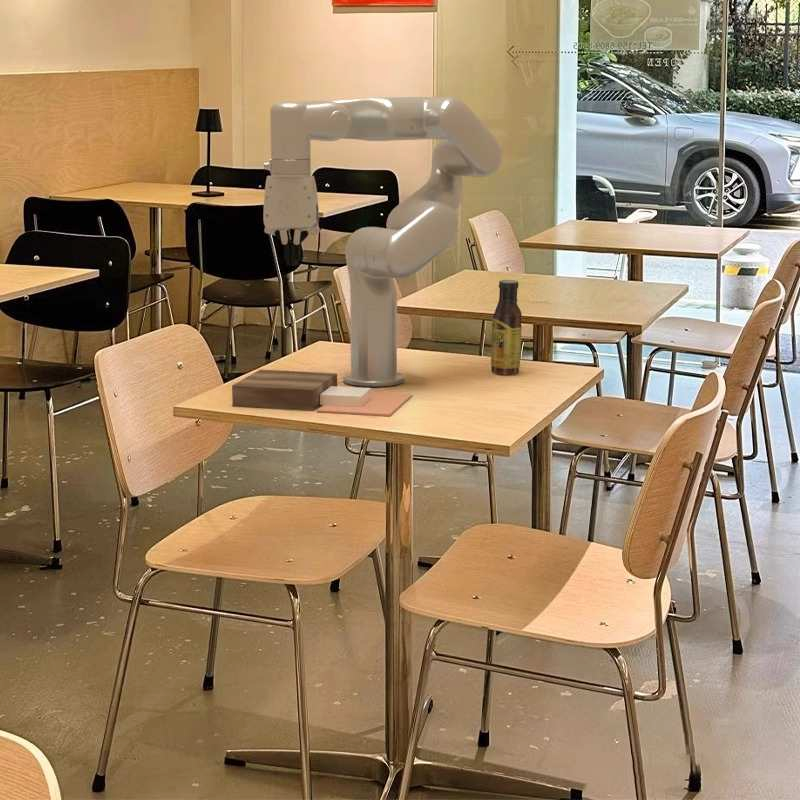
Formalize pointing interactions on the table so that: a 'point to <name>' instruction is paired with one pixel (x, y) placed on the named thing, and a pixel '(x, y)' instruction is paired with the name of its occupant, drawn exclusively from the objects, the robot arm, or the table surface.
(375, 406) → the mat
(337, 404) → the cream block
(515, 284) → the sauce bottle
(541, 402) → the table surface
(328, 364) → the table surface
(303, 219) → the robot arm
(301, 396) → the deck
